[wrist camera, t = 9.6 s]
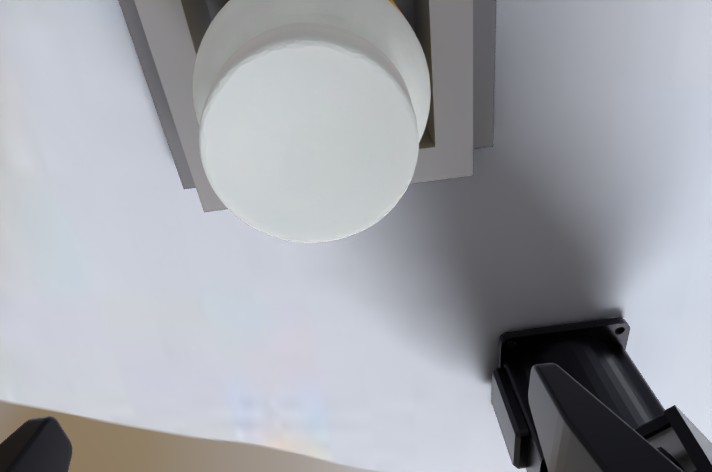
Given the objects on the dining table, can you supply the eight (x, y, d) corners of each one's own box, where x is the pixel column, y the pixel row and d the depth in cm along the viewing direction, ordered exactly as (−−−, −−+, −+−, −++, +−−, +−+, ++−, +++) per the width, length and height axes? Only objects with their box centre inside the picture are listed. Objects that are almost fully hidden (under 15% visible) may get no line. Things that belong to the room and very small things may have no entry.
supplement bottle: (422, 65, 18) (503, 201, 10) (292, 139, 19) (273, 312, 11) (344, -95, 16) (371, -81, 8) (199, 3, 17) (89, 105, 9)
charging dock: (490, -181, 15) (537, -201, 12) (486, 136, 21) (517, 182, 18) (89, -121, 16) (27, -125, 12) (189, 177, 21) (164, 230, 18)
